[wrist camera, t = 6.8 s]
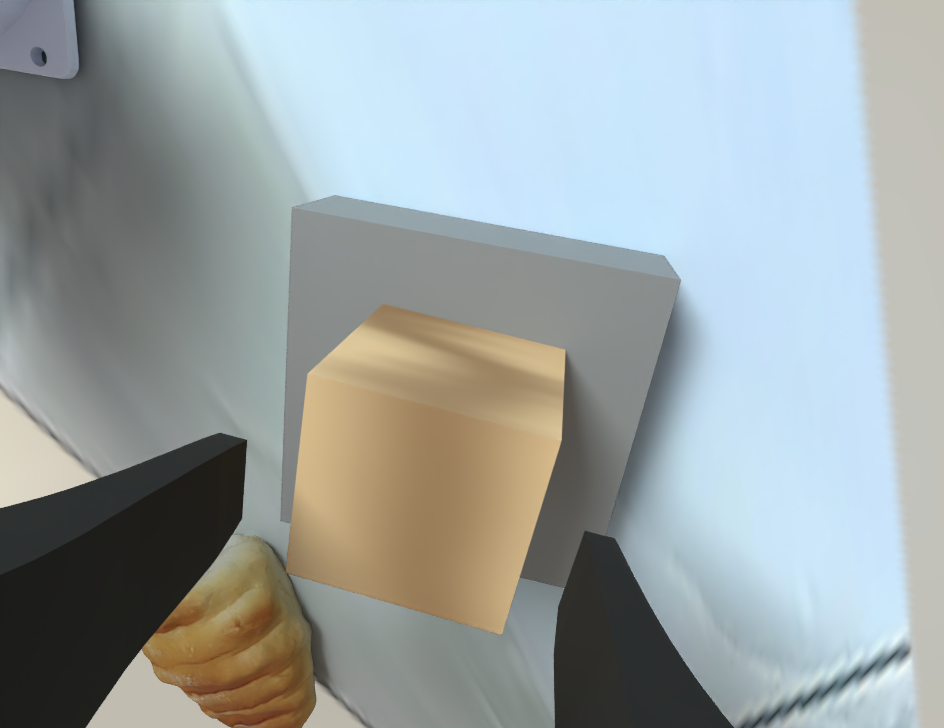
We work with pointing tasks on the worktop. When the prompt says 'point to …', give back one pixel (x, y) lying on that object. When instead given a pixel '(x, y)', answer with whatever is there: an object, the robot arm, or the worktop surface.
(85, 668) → the robot arm
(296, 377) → the gray block
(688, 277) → the worktop surface
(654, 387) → the worktop surface
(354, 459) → the oak block
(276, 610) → the pastry
